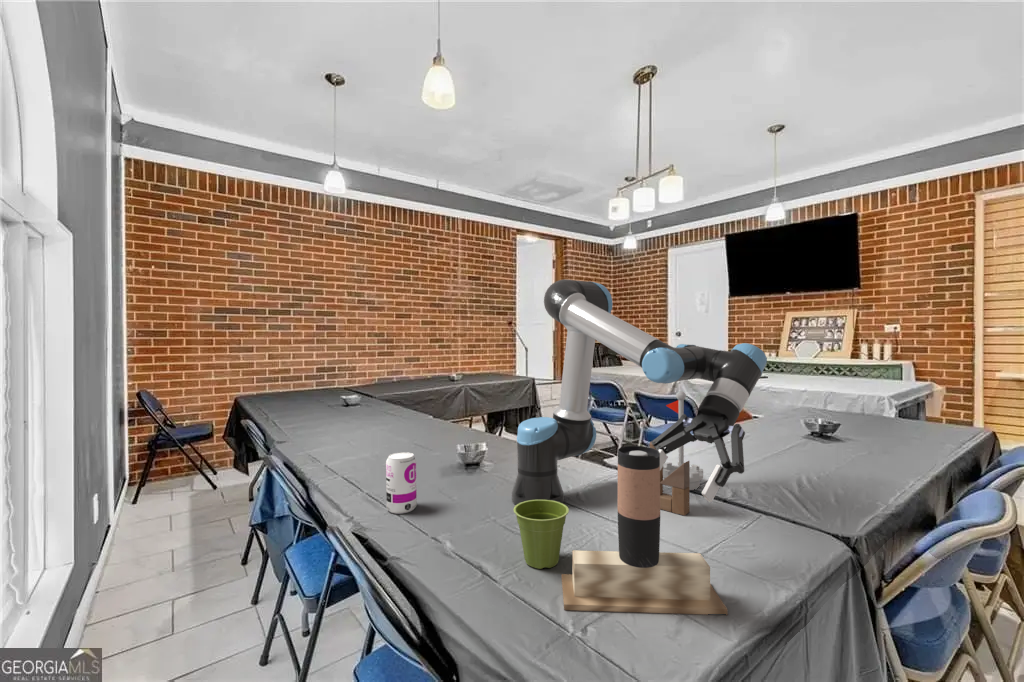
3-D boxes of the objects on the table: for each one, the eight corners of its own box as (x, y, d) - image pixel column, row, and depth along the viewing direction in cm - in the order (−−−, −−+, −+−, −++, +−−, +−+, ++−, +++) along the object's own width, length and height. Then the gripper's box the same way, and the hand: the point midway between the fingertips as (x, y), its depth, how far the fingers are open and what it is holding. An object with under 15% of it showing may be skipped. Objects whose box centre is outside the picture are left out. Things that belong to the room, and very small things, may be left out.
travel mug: (612, 549, 87) (611, 446, 86) (650, 547, 87) (650, 444, 87) (625, 570, 79) (625, 456, 79) (667, 567, 80) (667, 455, 79)
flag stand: (709, 484, 144) (709, 391, 144) (692, 494, 135) (692, 395, 135) (670, 475, 154) (670, 387, 153) (652, 484, 144) (652, 391, 144)
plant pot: (571, 550, 101) (571, 500, 101) (565, 578, 89) (565, 522, 89) (520, 545, 103) (519, 496, 103) (508, 572, 92) (507, 517, 92)
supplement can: (422, 505, 128) (421, 453, 128) (403, 516, 120) (403, 461, 120) (399, 501, 131) (398, 450, 131) (380, 511, 124) (379, 457, 124)
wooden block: (684, 516, 119) (684, 448, 119) (646, 506, 126) (646, 442, 126) (690, 512, 122) (690, 446, 121) (652, 502, 129) (652, 440, 129)
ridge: (564, 609, 79) (563, 570, 79) (561, 579, 89) (561, 544, 89) (727, 615, 77) (727, 574, 77) (706, 582, 87) (706, 547, 87)
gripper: (790, 425, 87) (744, 519, 79) (681, 407, 108) (637, 480, 101) (774, 400, 84) (726, 495, 76) (666, 387, 105) (620, 460, 98)
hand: (675, 487), depth 89 cm, fingers open, 13 cm apart
